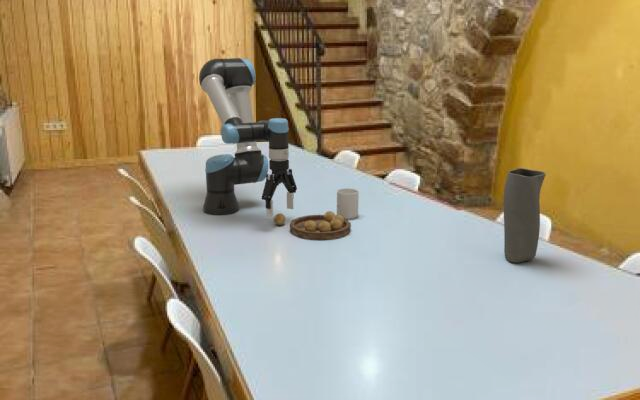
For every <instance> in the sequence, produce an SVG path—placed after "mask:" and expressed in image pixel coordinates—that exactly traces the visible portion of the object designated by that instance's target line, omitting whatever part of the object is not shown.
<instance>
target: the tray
mask: <svg viewBox="0 0 640 400" xmlns="http://www.w3.org/2000/svg"><path fill="white" fill-rule="evenodd" d="M324 215H325V214H309V215H308V214H307V215H304V216H298V217H296V218H293V219H292V220H291V221H290V223H289V228H290V233H291V234H292V235H293V236H295V237H297V238H299V239H300V238H301V239H304V240H310V241H330V240H332V241H333V240H337V239H340V238H344V237H347V236H348V235H349V234H351V226H352V223H351V221H349V220H346V219H344V223H343V224H342V227H341V229H340V230H336V231H334V230H332V229H330V231H329V232H320V231H319V228H318V226H319V224H320V223H321V222H322V221H325V220H324ZM309 220H312V221H314V222H315V223H316V225H317V228H316V230H315V231H314V232H311V231H306V230H305V228H304V225H305V223H306V222H307V221H309ZM327 222H328V221H327ZM329 223H330V222H329Z"/></svg>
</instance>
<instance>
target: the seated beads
mask: <svg viewBox="0 0 640 400" xmlns="http://www.w3.org/2000/svg"><path fill="white" fill-rule="evenodd" d="M323 215H324V220H325V221H322V222H321V223H320V224H319V226H318V228H319V231H320V232H329V231H330V229H332V230H334V231H336V230H340V229H341V227H342V224H343V223H344V218H343V217H342V216H341V215H337V214H335V212H333V211H330V210H329V211H326V212H325V213H324V214H323ZM327 221H328V222H327ZM329 222H330V223H329ZM304 228H305V230H306V231H311V232H314V231H315V230H316V228H317V225H316V223H315V222H314V221H312V220H309V221H307V222H306V223H305V225H304Z"/></svg>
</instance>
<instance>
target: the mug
mask: <svg viewBox="0 0 640 400" xmlns="http://www.w3.org/2000/svg"><path fill="white" fill-rule="evenodd" d="M359 195H360V194H359V190H358V189H356V188H351V187H350V188H348V187H347V188H339V189H337V190H336V215H341V216H342V217H343V218H344V219H346V220H348V221H349V220H355V219H356V218H357V217H358V216H359V200H360V199H359Z"/></svg>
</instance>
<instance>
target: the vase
mask: <svg viewBox="0 0 640 400" xmlns="http://www.w3.org/2000/svg"><path fill="white" fill-rule="evenodd" d="M546 175H547V173H546V172H545V171H540V170H536V169H535V170H533V169H528V168H523V167H521V168H520V167H519V168H518V167H517V168H515V169H512V170H509V171H508V172H507V176H506V179H505V183H504V189H503V198H502V199H503V201H502V203H503V205H502V206H503V229H504V231H503V233H504V238H503V240H504V243H503V244H504V248H503V249H504V258H505V259H506V261H508V262H511V263H512V264H513V263H514V264H515V263H516V264H517V263H518V264H519V263H522V262H528V261H531V260H533V259H534V258H536V255H537V250H538V245H539V239H540V238H539V237H540V228H541V227H540V226H541V212H540V211H541V210H540V209H541V207H540V197H541V195H540V194H541V190H542V187H543V183H544V181H545V177H546Z"/></svg>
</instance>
